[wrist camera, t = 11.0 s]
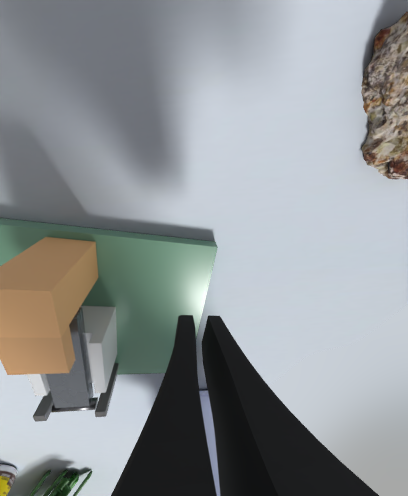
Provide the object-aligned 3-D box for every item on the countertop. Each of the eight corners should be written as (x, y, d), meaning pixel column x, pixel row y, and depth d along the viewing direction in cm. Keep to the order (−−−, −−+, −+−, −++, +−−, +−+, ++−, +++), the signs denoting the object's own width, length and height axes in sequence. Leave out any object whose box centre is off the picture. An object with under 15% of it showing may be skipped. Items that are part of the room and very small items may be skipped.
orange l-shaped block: (100, 307, 15) (68, 373, 11) (59, 305, 15) (7, 374, 10) (95, 241, 13) (50, 291, 8) (45, 236, 12) (-33, 287, 8)
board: (187, 363, 22) (190, 416, 18) (42, 366, 19) (2, 430, 15) (215, 241, 15) (231, 277, 11) (-4, 217, 12) (-104, 253, 8)
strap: (98, 400, 17) (94, 411, 16) (57, 402, 16) (52, 414, 15) (88, 307, 12) (82, 317, 11) (30, 305, 11) (21, 315, 11)
